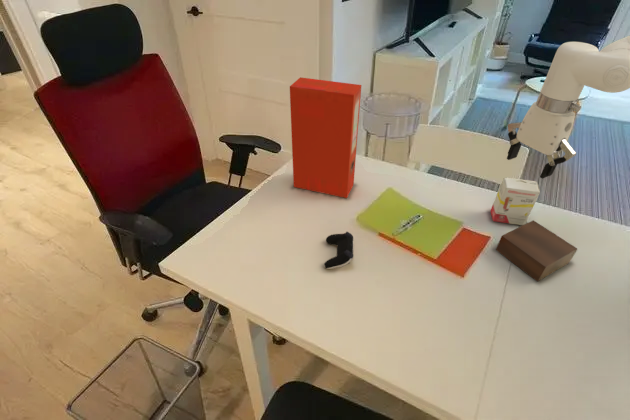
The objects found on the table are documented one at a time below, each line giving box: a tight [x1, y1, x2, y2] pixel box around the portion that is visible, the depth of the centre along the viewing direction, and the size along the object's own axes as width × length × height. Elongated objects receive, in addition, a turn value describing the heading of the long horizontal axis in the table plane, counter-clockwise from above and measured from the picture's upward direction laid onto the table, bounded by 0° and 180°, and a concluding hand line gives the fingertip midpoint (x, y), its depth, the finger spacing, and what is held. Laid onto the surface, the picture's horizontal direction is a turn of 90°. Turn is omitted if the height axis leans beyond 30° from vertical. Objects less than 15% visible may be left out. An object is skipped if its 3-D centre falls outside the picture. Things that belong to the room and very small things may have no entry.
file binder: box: [289, 77, 362, 199], centre depth 107 cm, size 8×17×32 cm, turn 70°
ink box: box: [489, 177, 541, 226], centre depth 101 cm, size 9×5×12 cm, turn 76°
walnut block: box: [495, 219, 578, 282], centre depth 92 cm, size 12×12×5 cm
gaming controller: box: [323, 231, 355, 270], centre depth 92 cm, size 11×4×7 cm
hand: (527, 167), depth 94 cm, fingers open, 9 cm apart
